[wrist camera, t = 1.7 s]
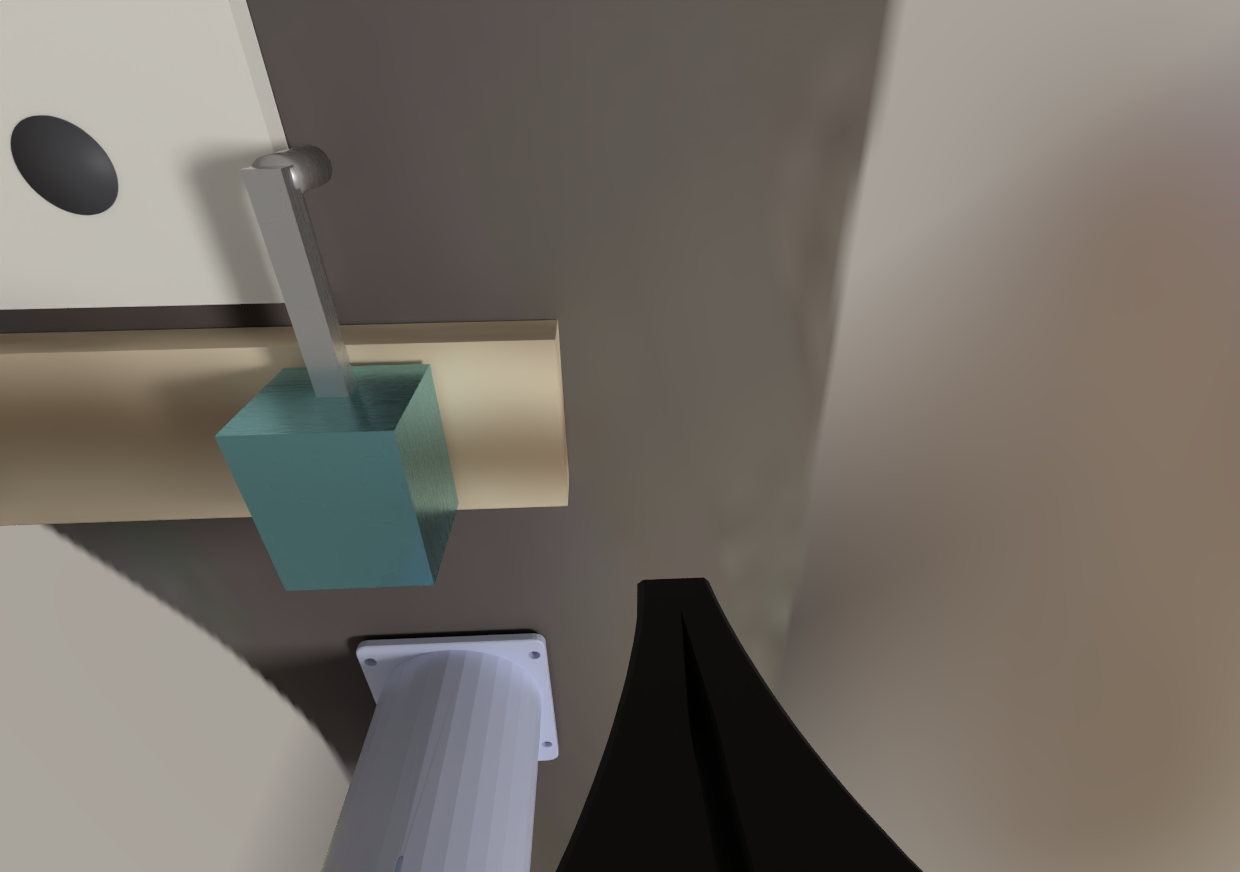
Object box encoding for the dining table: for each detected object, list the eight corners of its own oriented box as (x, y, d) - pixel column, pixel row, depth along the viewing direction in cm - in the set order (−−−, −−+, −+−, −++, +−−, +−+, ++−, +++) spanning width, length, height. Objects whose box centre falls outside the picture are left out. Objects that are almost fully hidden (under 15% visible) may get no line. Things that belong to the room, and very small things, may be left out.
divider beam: (568, 478, 21) (563, 584, 16) (-128, 502, 20) (-320, 618, 16) (544, 135, 15) (526, 163, 11) (-448, 150, 14) (-896, 187, 10)
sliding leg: (461, 491, 19) (434, 584, 16) (340, 496, 19) (286, 590, 16) (392, 143, 14) (325, 169, 10) (219, 145, 13) (92, 172, 10)
